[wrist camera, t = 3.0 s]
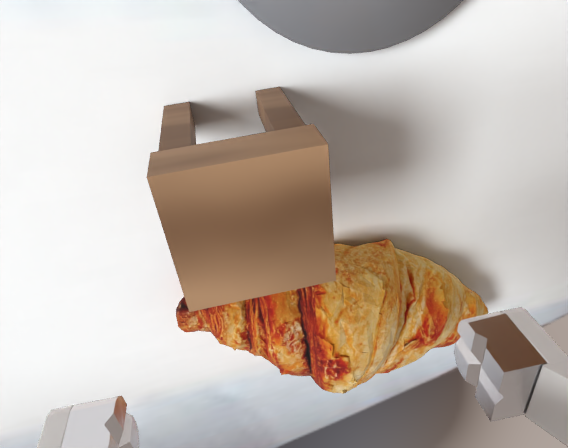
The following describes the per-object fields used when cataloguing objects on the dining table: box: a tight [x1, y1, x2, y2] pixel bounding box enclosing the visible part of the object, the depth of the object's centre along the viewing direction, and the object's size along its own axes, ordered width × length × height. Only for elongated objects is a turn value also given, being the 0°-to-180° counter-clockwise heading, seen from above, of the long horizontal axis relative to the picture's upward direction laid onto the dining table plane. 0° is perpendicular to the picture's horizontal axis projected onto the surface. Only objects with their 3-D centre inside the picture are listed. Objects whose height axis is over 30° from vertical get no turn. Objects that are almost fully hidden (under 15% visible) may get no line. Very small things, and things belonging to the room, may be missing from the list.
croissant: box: [176, 239, 488, 393], centre depth 27 cm, size 21×10×8 cm, turn 79°
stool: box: [147, 87, 336, 312], centre depth 19 cm, size 6×6×8 cm
